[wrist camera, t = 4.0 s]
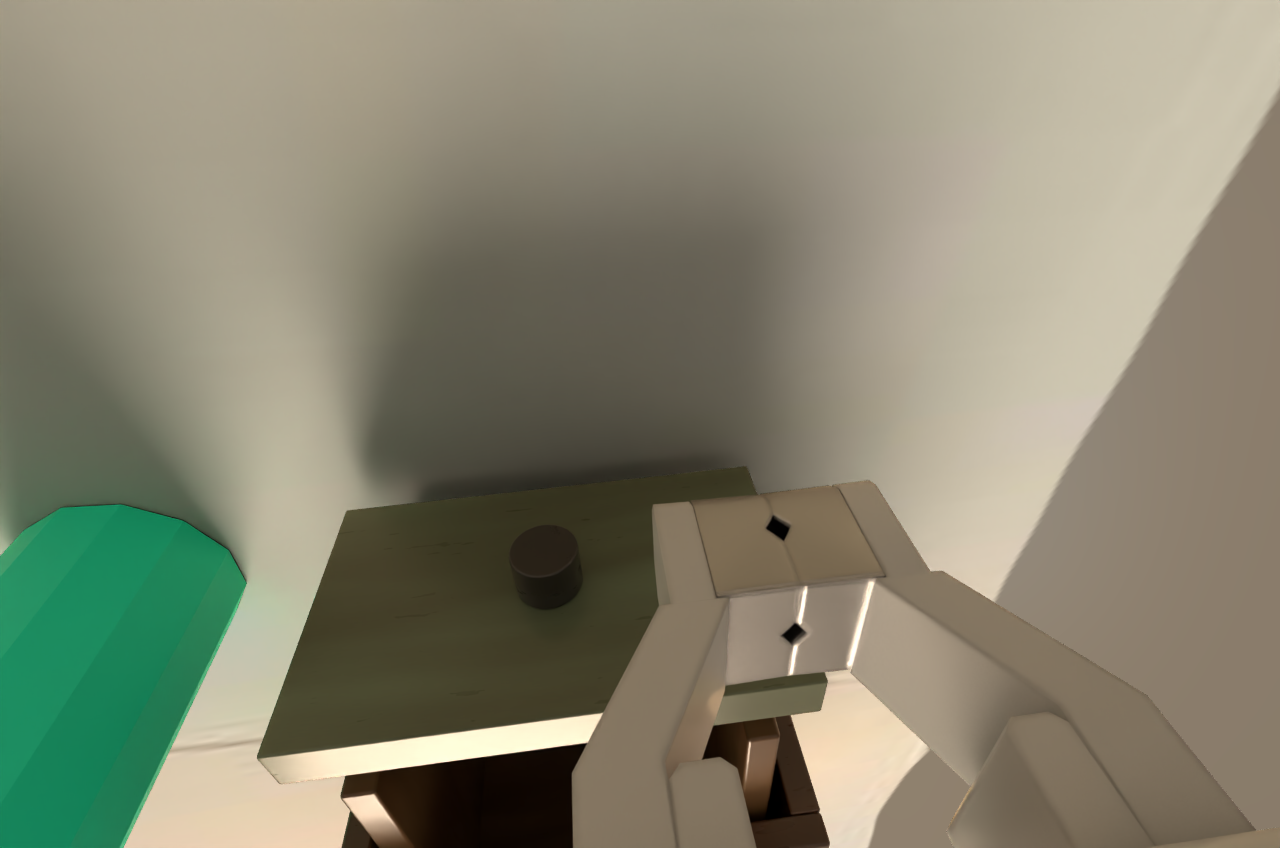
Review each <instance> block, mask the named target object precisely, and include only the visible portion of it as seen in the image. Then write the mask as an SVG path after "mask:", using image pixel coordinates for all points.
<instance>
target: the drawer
mask: <svg viewBox="0 0 1280 848" xmlns="http://www.w3.org/2000/svg"><path fill="white" fill-rule="evenodd" d="M746 495H757V492H756V490H755V487H754V484H753V482H752V479H751V476H750V474H749V471H748V468H747V467H746V466H743V467H734V468H725V469H716V470H707V471H698V472H689V473H680V474H671V475H662V476H653V477H644V478H635V479H626V480H617V481H608V482H599V483H590V484H581V485H572V486H563V487H554V488H545V489H536V490H527V491H518V492H509V493H500V494H491V495H482V496H473V497H464V498H455V499H446V500H437V501H428V502H419V503H411V504H402V505H393V506H384V507H375V508H366V509H357V510H348V511H346V514H345V516H344V519H343V522H342V525H341V527H340V530H339V533H338V536H337V538H336V541H335V544H334V547H333V549H332V552H331V555H330V558H329V560H328V563H327V566H326V568H325V571H324V574H323V577H322V579H321V582H320V585H319V588H318V590H317V593H316V596H315V599H314V601H313V604H312V607H311V610H310V612H309V615H308V618H307V621H306V623H305V626H304V629H303V632H302V634H301V637H300V640H299V642H298V645H297V648H296V651H295V653H294V656H293V659H292V662H291V664H290V667H289V670H288V673H287V675H286V678H285V681H284V684H283V686H282V689H281V692H280V695H279V697H278V700H277V703H276V706H275V708H274V711H273V714H272V716H271V719H270V722H269V725H268V727H267V730H266V733H265V736H264V738H263V741H262V744H261V747H260V749H259V752H258V755H257V759H258V760H259V761H260V762H261V764H262V765H263V766H264V767H265V768H266V769H267V770H268V771H269V773H270V774H271V775H272V776H273V777H274V778H275V779H276V780H277V782H278V783H279V784H288V783H295V782H303V781H310V780H317V779H325V778H332V777H339V776H345V780H344V784H343V788H342V792H341V799H342V800H343V802H344V803H345V804H346V806H347V807H348V808H349V809H350V811H351V812H352V813H353V815H354V816H355V817H356V818H357V820H358V821H359V822H360V824H361V825H362V826H363V827H364V829H365V830H366V831H367V833H368V834H369V835H370V836H371V838H372V839H373V840H374V842H375V843H376V844H377V845H378V847H379V848H573V816H572V772H573V770H574V768H575V766H576V764H577V762H578V760H579V758H580V757H581V755H582V753H583V751H584V749H585V747H586V745H587V743H588V741H589V739H590V737H591V735H592V733H593V732H594V730H595V728H596V726H597V724H598V722H599V720H600V718H601V716H602V714H603V712H604V710H605V709H606V707H607V705H608V703H609V701H610V699H611V697H612V695H613V693H614V691H615V689H616V687H617V686H618V684H619V682H620V680H621V678H622V676H623V674H624V672H625V670H626V668H627V666H628V664H629V663H630V661H631V659H632V657H633V655H634V653H635V651H636V649H637V647H638V645H639V643H640V641H641V640H642V638H643V636H644V634H645V632H646V630H647V628H648V626H649V624H650V622H651V620H652V618H653V617H654V615H655V613H656V611H657V609H658V607H659V602H658V595H657V585H656V574H655V563H654V545H653V524H652V507H653V504H665V503H677V502H690V501H691V500H701V499H712V498H724V497H735V496H746ZM827 683H828V680H827V678H826V675H825V672H820V673H810V674H801V675H791V676H783V677H777V678H770V679H764V680H758V681H752V682H746V683H739V684H733V685H727V686H725V691H724V694H723V697H722V700H721V703H720V706H719V709H718V712H717V715H716V718H715V721H714V724H713V727H712V730H711V733H710V736H709V739H708V742H707V745H706V748H705V751H704V754H703V757H702V760H703V759H710V758H716V757H721V758H722V759H724V760H726V761H727V762H729V763H730V764H732V765H733V766H735V767H736V768H737V769H738V773H739V777H740V781H741V785H742V790H743V794H744V798H745V802H746V806H747V811H748V815H749V819H750V822H756V821H763V820H765V818H766V813H767V807H768V801H769V796H770V790H771V785H772V779H773V773H774V768H775V762H776V756H777V751H778V745H779V740H780V732H779V729H778V726H777V722H776V719H775V717H780V716H787V715H795V714H802V713H809V712H817V711H820V710H821V707H822V703H823V699H824V695H825V691H826V687H827Z"/></svg>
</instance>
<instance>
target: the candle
mask: <svg viewBox="0 0 1280 848" xmlns="http://www.w3.org/2000/svg"><path fill="white" fill-rule="evenodd" d="M246 584H247V583H246V581H245V579H244V577H243V576H242V574H241V572H240V570H239V568H238V566H237V565H236V563H235V561H234V559H233V557H232V555H231V554H230V552H229V550H227V549H226V548H224V547H223V546H221V545H220V544H218V543H217V542H215V541H214V540H212V539H211V538H209V537H207V536H206V535H204V534H203V533H201V532H200V531H198V530H197V529H195V528H194V527H192V526H191V525H189V524H188V523H186V522H184V521H182V520H178V519H175V518H171V517H167V516H163V515H159V514H156V513H152V512H148V511H144V510H140V509H137V508H133V507H129V506H125V505H122V504H118V505H101V506H83V507H66V508H60V509H58V510H56V511H55V512H53V513H51V514H50V515H48V516H47V517H45V518H43V519H42V520H40V521H38V522H37V523H35V524H33V525H32V526H30V527H28V528H27V529H25V530H24V531H23V532H22V533H21V534H20V535H19V536H18V537H17V538H16V539H15V541H14V542H13V543H12V544H11V545H10V546H9V547H8V548H7V549H6V550H5V551H4V553H3V554H2V555H1V556H0V848H124V845H125V843H126V841H127V839H128V837H129V835H130V833H131V831H132V829H133V827H134V824H135V822H136V820H137V818H138V816H139V814H140V812H141V810H142V808H143V806H144V804H145V801H146V799H147V797H148V795H149V793H150V791H151V789H152V787H153V785H154V783H155V780H156V778H157V776H158V774H159V772H160V770H161V768H162V766H163V764H164V762H165V760H166V757H167V755H168V753H169V751H170V749H171V747H172V745H173V743H174V741H175V739H176V736H177V734H178V732H179V730H180V728H181V726H182V724H183V722H184V720H185V718H186V716H187V713H188V711H189V709H190V707H191V705H192V703H193V701H194V699H195V697H196V695H197V692H198V690H199V688H200V686H201V684H202V682H203V680H204V678H205V676H206V674H207V671H208V669H209V667H210V665H211V663H212V661H213V659H214V657H215V655H216V653H217V651H218V648H219V646H220V644H221V642H222V640H223V638H224V636H225V634H226V632H227V630H228V627H229V625H230V623H231V621H232V619H233V617H234V615H235V613H236V611H237V608H238V605H239V603H240V600H241V597H242V595H243V592H244V589H245V587H246Z"/></svg>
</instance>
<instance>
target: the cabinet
mask: <svg viewBox="0 0 1280 848" xmlns="http://www.w3.org/2000/svg"><path fill="white" fill-rule="evenodd" d="M775 719H776V722H777V726H778V729H779V732H780V740H779V745H778V751H777V756H776V762H775V768H774V773H773V779H772V785H771V790H770V796H769V801H768V807H767V813H766V818H765V820H763V821H756V822H750V823H751V827H752V832H753V836H754V840H755V844H756V848H829V845H830V841H829V838H828V835H827V832H826V828H825V825H824V822H823V819H822V816H821V814H820V813H819V811H820V808H819V805H818V802H817V799H816V795H815V792H814V789H813V786H812V783H811V779H810V776H809V773H808V770H807V767H806V763H805V760H804V757H803V754H802V751H801V747H800V744H799V741H798V738H797V735H796V731H795V728H794V725H793V722H792V718H791V715H787V716H780V717H775ZM342 848H379V847H378V845H377V844H376V843H375V842H374V840H373V839H372V838H371V836H370V835H369V834H368V833H367V831H366V830H365V829H364V827H363V826H362V825H361V824H360V822H359V821H358V820H357V818H356V817H355V816H354V815H353V813H352V812H351V811H350V814H349V818H348V822H347V827H346V831H345V835H344V840H343V844H342Z"/></svg>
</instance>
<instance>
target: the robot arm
mask: <svg viewBox="0 0 1280 848" xmlns="http://www.w3.org/2000/svg"><path fill="white" fill-rule="evenodd" d="M652 524H653V545H654V563H655V574H656V585H657V595H658V602H659V607H658V609H657V611H656V613H655V615H654V617H653V618H652V620H651V622H650V624H649V626H648V628H647V630H646V632H645V634H644V636H643V638H642V640H641V641H640V643H639V645H638V647H637V649H636V651H635V653H634V655H633V657H632V659H631V661H630V663H629V664H628V666H627V668H626V670H625V672H624V674H623V676H622V678H621V680H620V682H619V684H618V686H617V687H616V689H615V691H614V693H613V695H612V697H611V699H610V701H609V703H608V705H607V707H606V709H605V710H604V712H603V714H602V716H601V718H600V720H599V722H598V724H597V726H596V728H595V730H594V732H593V733H592V735H591V737H590V739H589V741H588V743H587V745H586V747H585V749H584V751H583V753H582V755H581V757H580V758H579V760H578V762H577V764H576V766H575V768H574V770H573V772H572V816H573V848H756V844H755V840H754V836H753V832H752V827H751V823H750V819H749V815H748V811H747V806H746V802H745V798H744V794H743V790H742V785H741V781H740V777H739V773H738V769H737V768H736V767H735V766H733V765H732V764H730V763H729V762H727V761H726V760H724V759H722V758H721V757H716V758H710V759H703V760H702V757H703V754H704V751H705V748H706V745H707V742H708V739H709V736H710V733H711V730H712V727H713V724H714V721H715V718H716V715H717V712H718V709H719V706H720V703H721V700H722V697H723V694H724V691H725V686H727V685H733V684H739V683H746V682H752V681H758V680H764V679H770V678H777V677H783V676H791V675H801V674H810V673H820V672H829V671H839V670H848V669H851V672H850V673H851V674H852V675H854V676H855V677H856V678H857V679H858V680H859V681H860V682H861V683H862V684H863V685H864V686H865V687H866V688H867V689H868V690H869V691H870V692H871V693H872V694H874V695H875V696H876V697H877V698H878V699H879V700H880V701H881V702H882V703H883V704H884V705H885V706H886V707H887V708H888V709H889V710H890V711H891V712H892V713H894V714H895V715H896V716H897V717H898V718H899V719H900V720H901V721H902V722H903V723H904V724H905V725H906V726H907V727H908V728H909V729H910V730H911V731H912V732H913V733H915V734H916V735H917V736H918V737H919V738H920V739H921V740H922V741H923V742H924V743H925V744H926V745H927V746H928V747H929V748H930V749H931V750H932V751H933V752H935V753H936V754H937V755H938V756H939V757H940V758H941V759H942V760H943V761H944V762H945V763H946V764H947V765H948V766H949V767H950V768H951V769H952V770H954V771H955V772H956V773H957V774H958V775H959V776H960V777H961V778H962V779H963V780H964V781H965V782H966V783H967V784H968V785H969V786H970V789H969V791H968V792H967V794H966V796H965V797H964V799H963V801H962V803H961V804H960V806H959V808H958V810H957V811H956V813H955V815H954V817H953V818H952V820H951V823H950V825H949V827H948V829H947V831H946V832H947V834H948V836H949V838H950V840H951V843H952V845H953V847H954V848H1280V827H1277V828H1270V829H1264V830H1257V831H1256V829H1255V828H1254V827H1253V826H1252V824H1251V823H1250V822H1249V821H1248V820H1247V818H1246V817H1245V816H1244V815H1243V813H1242V812H1241V811H1240V810H1239V809H1238V807H1237V806H1236V805H1235V803H1234V802H1233V801H1232V800H1231V798H1230V797H1229V796H1228V795H1227V793H1226V792H1225V791H1224V790H1223V789H1222V787H1221V786H1220V785H1219V784H1218V782H1217V781H1216V780H1215V779H1214V777H1213V776H1212V775H1211V774H1210V772H1209V771H1208V770H1207V769H1206V767H1205V766H1204V765H1203V764H1202V762H1201V761H1200V760H1199V759H1198V758H1197V756H1196V755H1195V754H1194V753H1193V752H1192V750H1191V749H1190V748H1189V746H1188V745H1187V744H1186V743H1185V742H1184V740H1183V739H1182V738H1181V737H1180V735H1179V734H1178V733H1177V732H1176V730H1175V729H1174V728H1173V727H1172V725H1171V724H1170V723H1169V722H1168V720H1167V719H1166V718H1165V717H1164V715H1163V714H1162V713H1161V712H1160V710H1159V709H1158V708H1157V707H1156V706H1155V704H1154V703H1153V702H1152V701H1151V699H1150V698H1149V697H1148V696H1147V695H1146V694H1144V693H1143V692H1141V691H1139V690H1138V689H1136V688H1134V687H1133V686H1131V685H1129V684H1128V683H1126V682H1125V681H1123V680H1121V679H1120V678H1118V677H1116V676H1115V675H1113V674H1111V673H1109V672H1108V671H1106V670H1105V669H1103V668H1101V667H1100V666H1098V665H1096V664H1095V663H1093V662H1091V661H1090V660H1088V659H1087V658H1085V657H1083V656H1082V655H1080V654H1078V653H1077V652H1075V651H1073V650H1072V649H1070V648H1068V647H1067V646H1065V645H1064V644H1061V643H1060V642H1059V641H1057V640H1055V639H1054V638H1052V637H1050V636H1049V635H1047V634H1045V633H1044V632H1042V631H1040V630H1039V629H1037V628H1035V627H1034V626H1032V625H1031V624H1029V623H1027V622H1026V621H1024V620H1022V619H1021V618H1019V617H1018V616H1016V615H1014V614H1013V613H1011V612H1009V611H1008V610H1006V609H1004V608H1003V607H1001V606H999V605H998V604H996V603H994V602H993V601H991V600H990V599H988V598H986V597H985V596H983V595H981V594H980V593H978V592H976V591H975V590H973V589H971V588H970V587H968V586H967V585H965V584H963V583H962V582H960V581H958V580H957V579H955V578H953V577H952V576H950V575H948V574H947V573H945V572H943V571H933V572H930V570H929V568H928V567H927V565H926V564H925V562H924V560H923V559H922V557H921V556H920V554H919V553H918V551H917V549H916V548H915V546H914V545H913V543H912V541H911V540H910V538H909V537H908V535H907V533H906V532H905V530H904V529H903V527H902V526H901V524H900V522H899V521H898V519H897V518H896V516H895V514H894V513H893V511H892V510H891V508H890V506H889V505H888V503H887V502H886V500H885V498H884V497H883V495H882V494H881V492H880V491H879V489H878V487H877V486H876V484H874V483H873V482H871V481H870V480H866V481H858V482H850V483H842V484H834V485H832V486H829V485H827V486H819V487H811V488H803V489H795V490H787V491H779V492H771V493H763V494H757V495H746V496H735V497H724V498H712V499H701V500H691V501H690V502H677V503H665V504H653V507H652Z"/></svg>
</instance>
